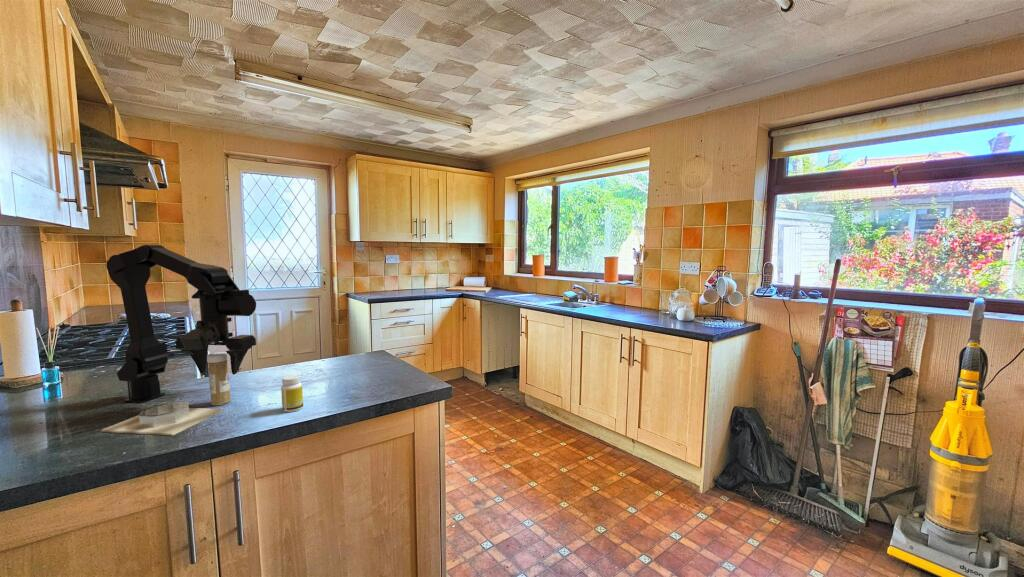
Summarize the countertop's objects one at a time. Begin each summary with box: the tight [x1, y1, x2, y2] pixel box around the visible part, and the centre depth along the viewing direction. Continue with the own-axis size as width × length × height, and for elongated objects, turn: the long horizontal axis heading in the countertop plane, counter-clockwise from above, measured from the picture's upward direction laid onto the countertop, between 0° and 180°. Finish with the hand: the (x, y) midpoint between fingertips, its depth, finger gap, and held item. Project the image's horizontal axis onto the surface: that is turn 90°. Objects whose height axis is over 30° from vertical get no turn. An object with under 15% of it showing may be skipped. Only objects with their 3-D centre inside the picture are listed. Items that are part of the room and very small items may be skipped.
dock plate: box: [100, 407, 224, 436], centre depth 101 cm, size 18×14×1 cm
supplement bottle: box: [280, 374, 304, 413], centre depth 107 cm, size 5×5×8 cm
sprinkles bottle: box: [207, 351, 232, 407], centre depth 112 cm, size 5×5×13 cm
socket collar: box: [138, 401, 190, 427], centre depth 101 cm, size 9×9×2 cm
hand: (218, 373), depth 112 cm, fingers open, 9 cm apart
